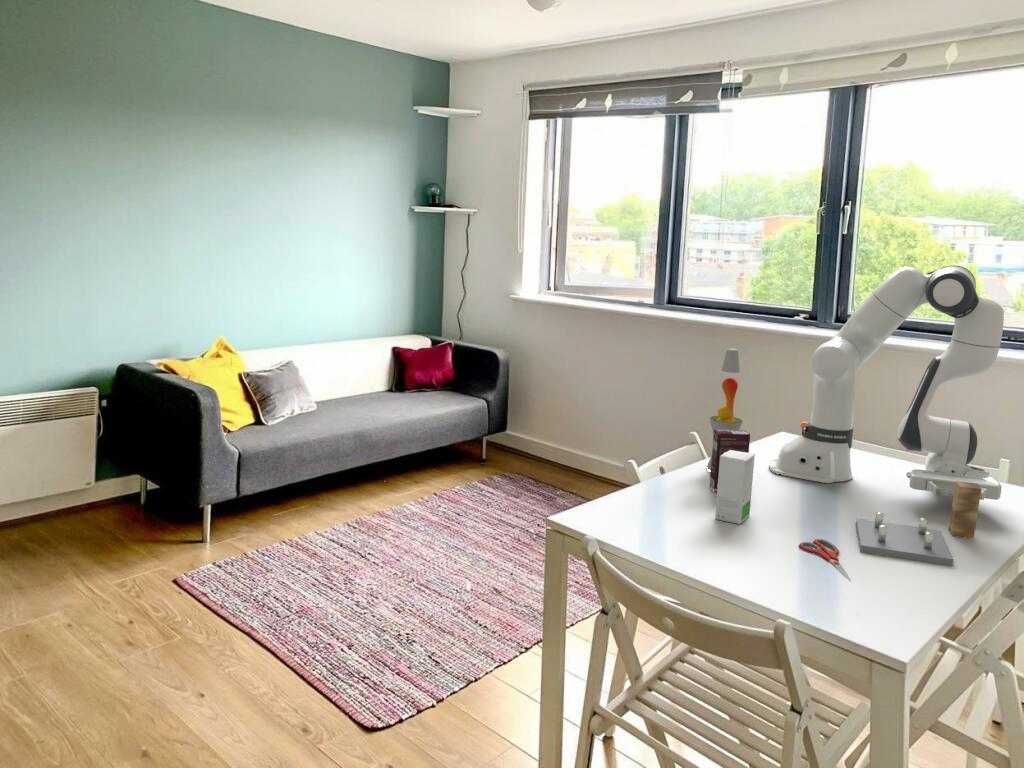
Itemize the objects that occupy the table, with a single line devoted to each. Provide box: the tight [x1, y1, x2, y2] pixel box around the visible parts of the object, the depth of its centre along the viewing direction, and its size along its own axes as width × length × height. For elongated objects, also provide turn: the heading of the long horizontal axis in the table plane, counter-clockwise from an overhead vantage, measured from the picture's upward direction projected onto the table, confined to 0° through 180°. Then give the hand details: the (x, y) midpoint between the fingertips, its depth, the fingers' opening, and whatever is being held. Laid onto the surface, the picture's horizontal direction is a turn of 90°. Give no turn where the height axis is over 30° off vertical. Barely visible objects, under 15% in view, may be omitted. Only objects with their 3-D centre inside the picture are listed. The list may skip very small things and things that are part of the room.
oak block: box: [948, 481, 981, 539], centre depth 190 cm, size 4×4×12 cm
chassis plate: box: [855, 518, 954, 567], centre depth 184 cm, size 18×18×2 cm
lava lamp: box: [706, 348, 743, 470], centre depth 230 cm, size 9×9×35 cm
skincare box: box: [714, 450, 756, 525], centre depth 195 cm, size 8×7×16 cm
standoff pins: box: [874, 511, 934, 550], centre depth 183 cm, size 11×11×4 cm
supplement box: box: [709, 429, 751, 492], centre depth 216 cm, size 9×5×16 cm, turn 92°
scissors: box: [798, 538, 852, 582], centre depth 172 cm, size 8×21×2 cm, turn 12°
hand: (958, 493), depth 199 cm, fingers open, 8 cm apart
